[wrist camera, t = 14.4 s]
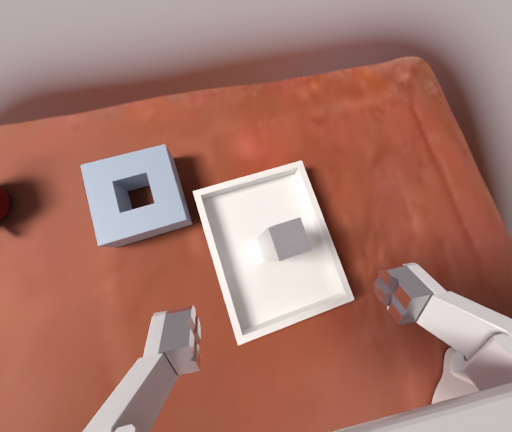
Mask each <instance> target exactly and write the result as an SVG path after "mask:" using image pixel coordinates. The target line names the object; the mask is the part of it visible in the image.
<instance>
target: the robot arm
mask: <svg viewBox="0 0 512 432" xmlns="http://www.w3.org/2000/svg"><path fill="white" fill-rule="evenodd" d="M377 275H378V276H379V278H378V279H377V280H376V281H375V284H374V290H375V294H376V296H377V298H378V299H379V301H380V302H381V303H383V304H385V305H386V306H387V311H388V313H389V314H390V315H391V317H392V318H393V320H394V321H395V322H396V324H397V325H402V324H407V323H412V322H416V323H417V324H419V325H420V326H422V327H423V328H425V329H426V330H428V331H429V332H431V333H432V334H434V335H435V336H436V337H438V338H439V339H441V340H442V341H444V342H445V343H447V344H448V345H450V346H451V347H450V348H448V349H447V351H446V353H445V357H444V366H443V374H442V377H441V379H440V381H439V383H438V385H437V387H436V390H435V392H434V396H433V399H432V404H430V405H427V406H423V407H419V408H416V409H412V410H409V411H405V412H401V413H398V414H394V415H390V416H387V417H383V418H379V419H376V420H372V421H368V422H365V423H361V424H357V425H354V426H350V427H346V428H343V429H339V430H335V431H332V432H512V319H511V318H509V317H506V316H504V315H502V314H500V313H498V312H495V311H493V310H491V309H489V308H486V307H484V306H482V305H480V304H478V303H475V302H473V301H471V300H469V299H467V298H464V297H462V296H460V295H458V294H456V293H453V292H451V291H448V292H447V291H446V290H445V289H444V288H443V287H442V286H440V285H439V284H438V283H437V282H436V281H435V280H434V279H433V278H432V277H431V276H430V275H429V274H428V273H427V272H425V271H424V270H423V269H422V268H421V267H420V266H419V265H418V264H416V263H414V262H413V263H407V264H403V265H396V266H391V267H387V268H382V269H380V270H379V272H378V274H377ZM195 314H196V310H195V308H194V306H190V307H185V308H179V309H173V310H167V311H162V312H157V313H154V315H153V316H152V319H151V324H150V328H149V333H148V337H147V342H146V346H145V350H144V355H143V357H141V358H139V359H138V360H137V361H136V363H135V364H134V365H133V366H132V368H131V369H130V370H129V372H128V373H127V374H126V376H125V377H124V378H123V379H122V381H121V382H120V383H119V385H118V386H117V387H116V389H115V390H114V391H113V392H112V394H111V395H110V396H109V398H108V399H107V400H106V402H105V403H104V404H103V406H102V407H101V408H100V409H99V411H98V412H97V413H96V415H95V416H94V417H93V419H92V420H91V421H90V422H89V424H88V425H87V426H86V428H85V429H84V430H83V432H150V430H151V428H152V426H153V424H154V423H155V421H156V419H157V417H158V415H159V413H160V411H161V409H162V407H163V405H164V403H165V401H166V399H167V398H168V396H169V394H170V392H171V390H172V388H173V386H174V384H175V382H176V380H177V378H178V376H179V375H183V374H187V373H191V372H195V371H199V370H200V354H201V352H200V349H199V347H198V344H199V343H200V341H201V328H200V322H199V318H198V317H197V316H195Z"/></svg>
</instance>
